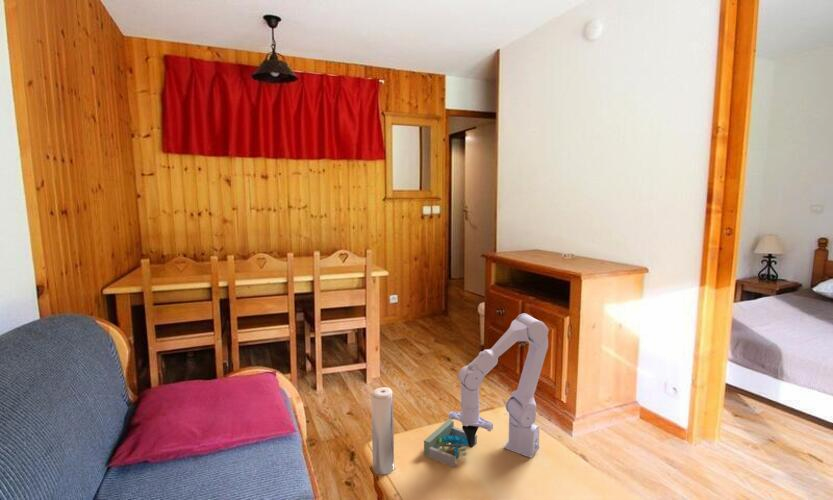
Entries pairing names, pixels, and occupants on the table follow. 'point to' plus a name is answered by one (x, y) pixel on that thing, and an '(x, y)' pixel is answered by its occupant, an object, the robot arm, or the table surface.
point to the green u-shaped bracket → (433, 445)
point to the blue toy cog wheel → (453, 442)
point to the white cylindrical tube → (382, 431)
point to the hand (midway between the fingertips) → (470, 445)
